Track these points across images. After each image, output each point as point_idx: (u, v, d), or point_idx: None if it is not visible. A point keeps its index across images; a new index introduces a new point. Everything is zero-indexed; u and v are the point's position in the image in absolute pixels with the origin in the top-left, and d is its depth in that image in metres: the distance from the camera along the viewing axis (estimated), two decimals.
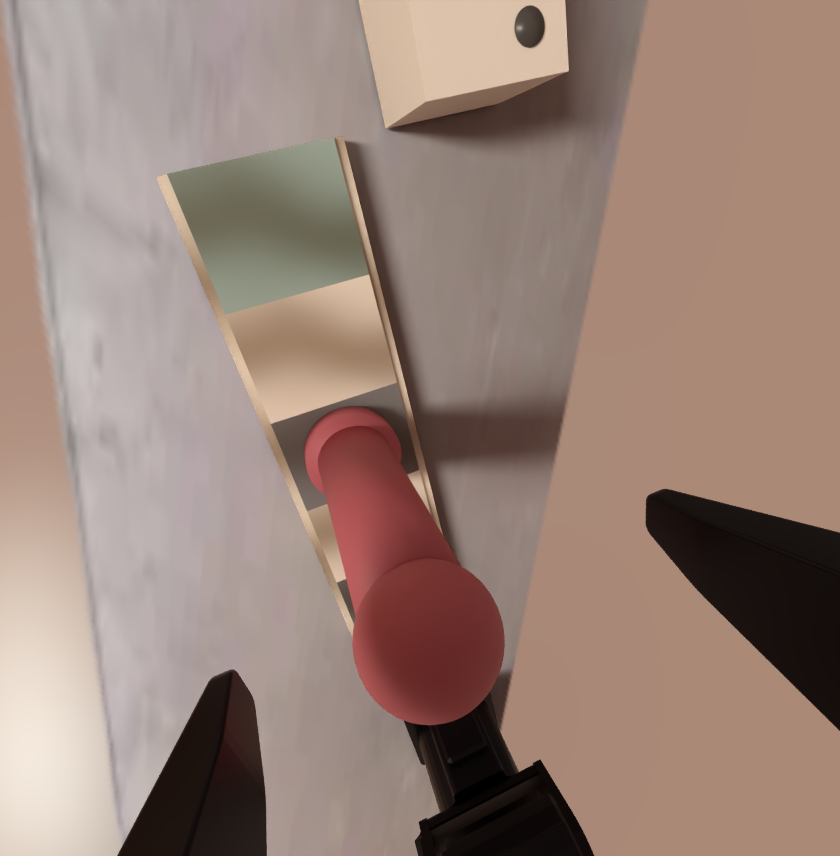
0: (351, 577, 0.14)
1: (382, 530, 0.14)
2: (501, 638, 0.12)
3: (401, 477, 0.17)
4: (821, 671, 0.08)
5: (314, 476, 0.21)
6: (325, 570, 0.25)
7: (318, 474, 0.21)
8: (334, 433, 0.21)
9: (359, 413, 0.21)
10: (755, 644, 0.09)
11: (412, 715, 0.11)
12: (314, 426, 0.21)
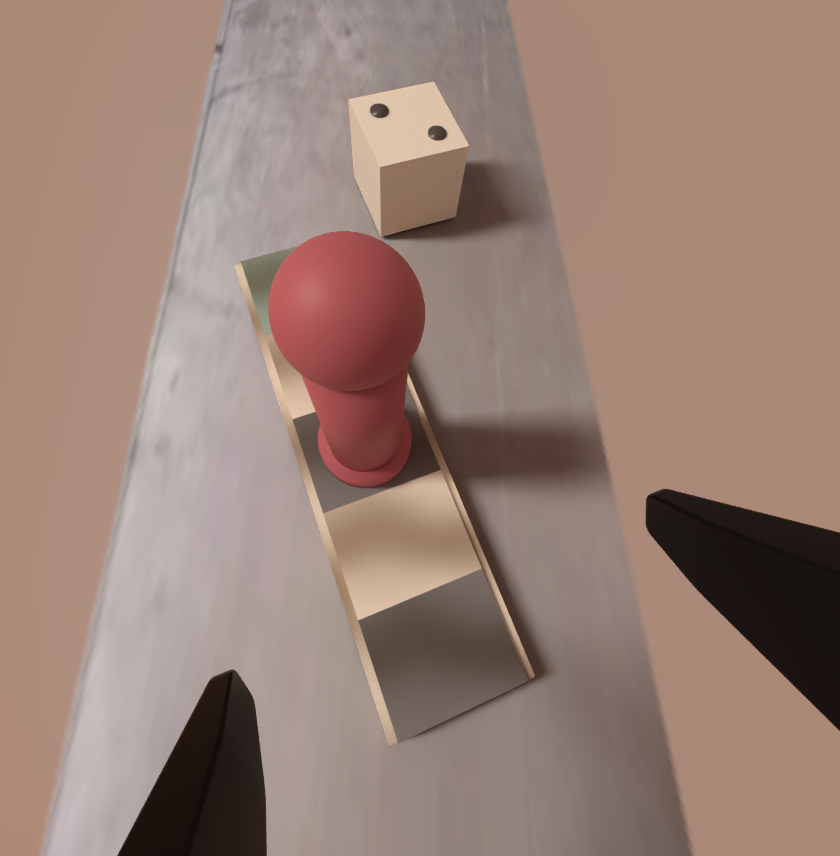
0: None
1: None
2: (406, 263, 0.11)
3: None
4: (821, 671, 0.08)
5: (325, 452, 0.22)
6: (344, 602, 0.21)
7: (329, 450, 0.22)
8: None
9: None
10: (755, 644, 0.09)
11: (300, 290, 0.10)
12: None
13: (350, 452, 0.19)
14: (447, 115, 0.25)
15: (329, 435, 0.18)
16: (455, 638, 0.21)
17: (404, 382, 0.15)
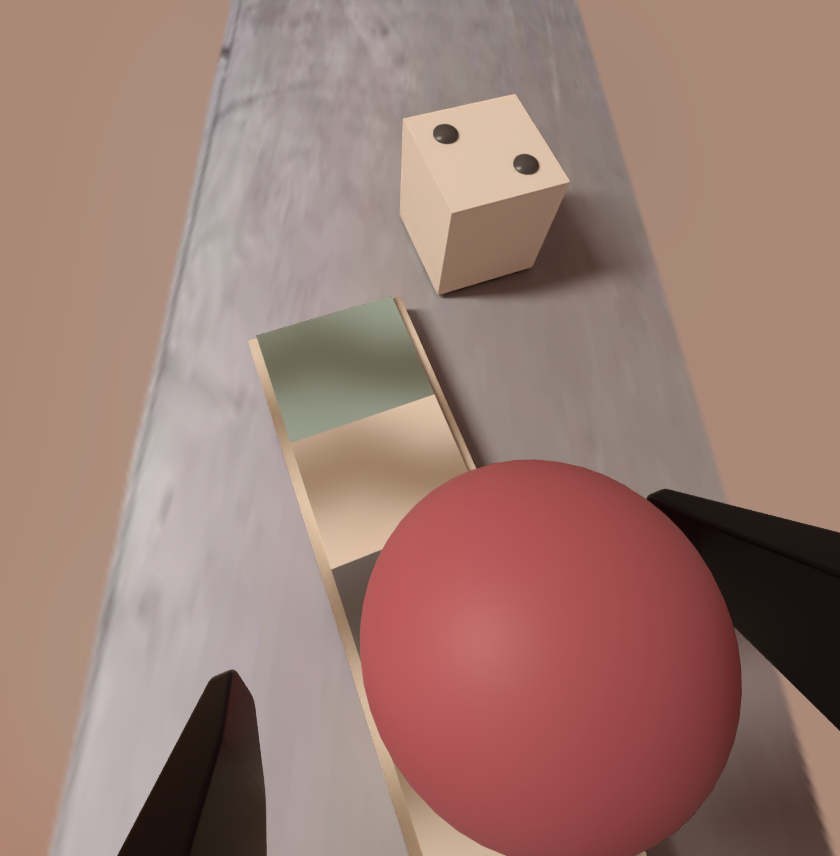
0: None
1: None
2: (698, 553, 0.05)
3: None
4: (821, 671, 0.08)
5: None
6: None
7: None
8: None
9: None
10: (755, 644, 0.09)
11: (487, 723, 0.04)
12: None
13: None
14: (537, 139, 0.19)
15: None
16: None
17: None
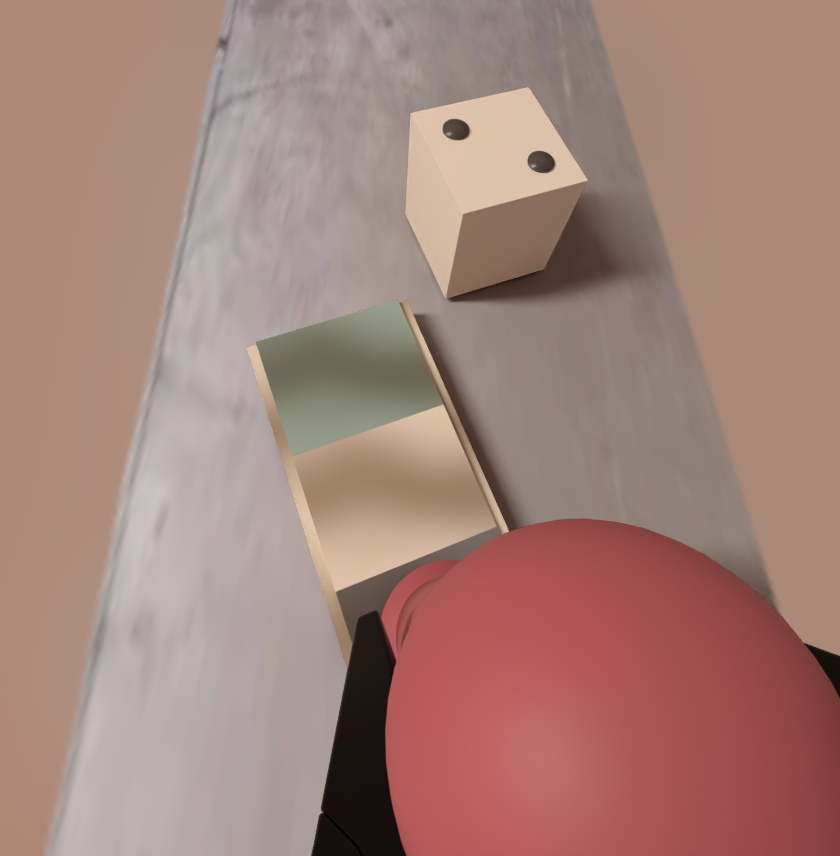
0: None
1: None
2: (808, 650, 0.04)
3: None
4: None
5: None
6: None
7: None
8: (416, 588, 0.15)
9: None
10: None
11: None
12: (392, 591, 0.15)
13: None
14: (552, 135, 0.18)
15: None
16: None
17: None
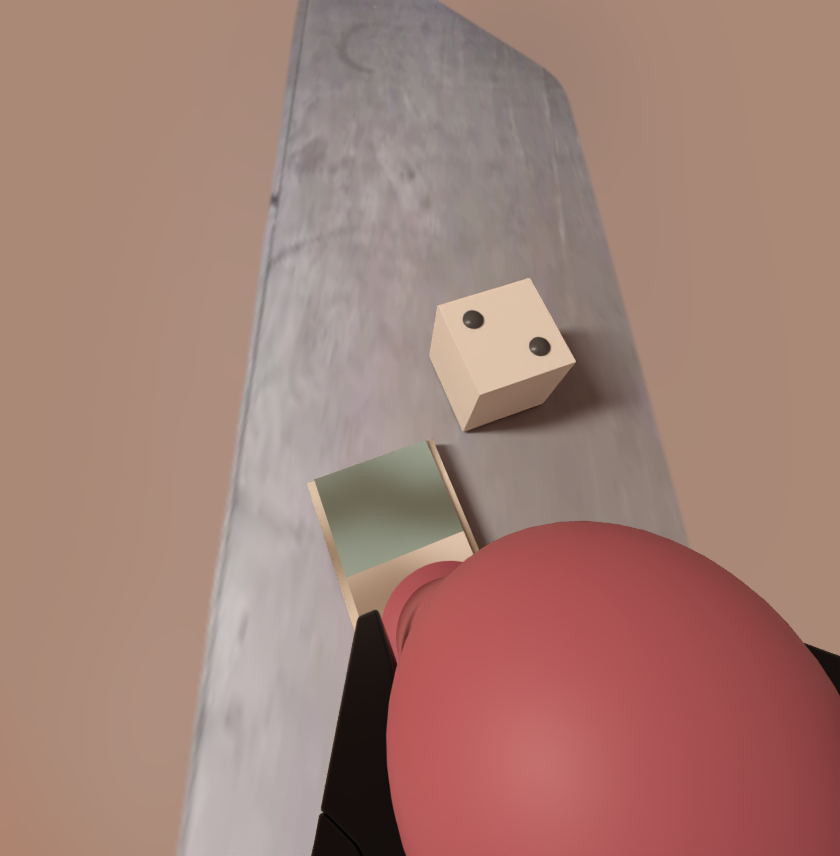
0: None
1: None
2: (811, 653, 0.04)
3: None
4: None
5: None
6: None
7: (398, 661, 0.14)
8: (417, 589, 0.15)
9: (449, 561, 0.15)
10: None
11: None
12: None
13: None
14: (548, 322, 0.23)
15: None
16: None
17: None
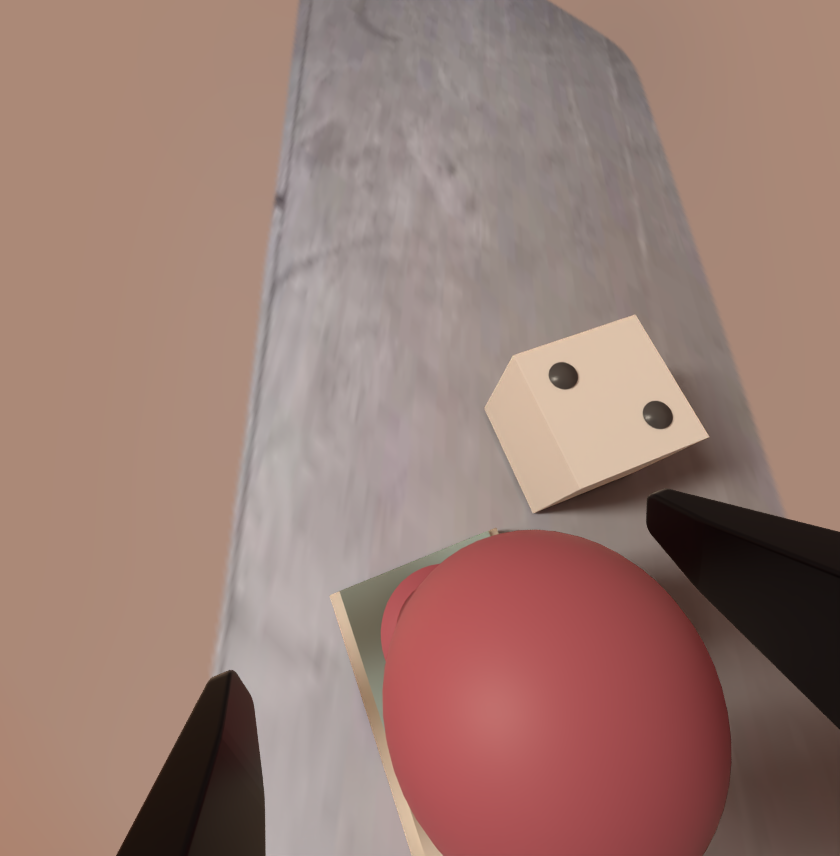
0: None
1: None
2: (692, 627, 0.05)
3: None
4: (822, 671, 0.08)
5: None
6: None
7: None
8: (414, 589, 0.16)
9: None
10: (756, 644, 0.09)
11: (505, 799, 0.04)
12: None
13: None
14: (666, 378, 0.16)
15: None
16: None
17: None
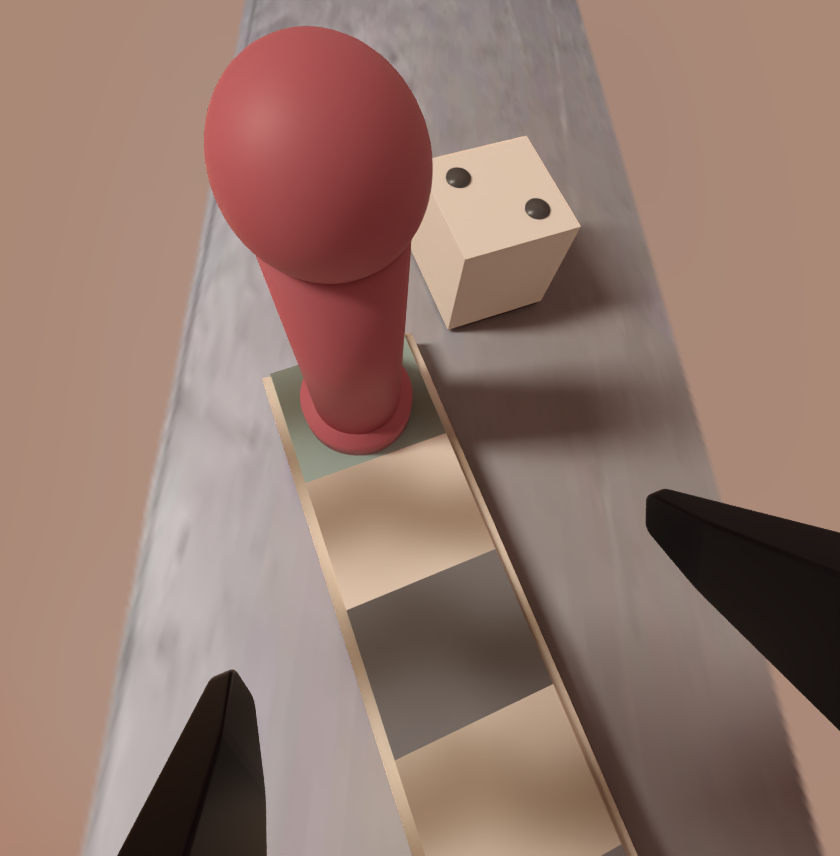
0: None
1: None
2: (405, 83, 0.08)
3: None
4: (821, 671, 0.08)
5: (308, 411, 0.18)
6: None
7: (313, 409, 0.18)
8: None
9: None
10: (755, 644, 0.09)
11: (243, 94, 0.07)
12: None
13: (336, 402, 0.15)
14: (548, 183, 0.19)
15: (309, 378, 0.14)
16: None
17: (403, 293, 0.11)
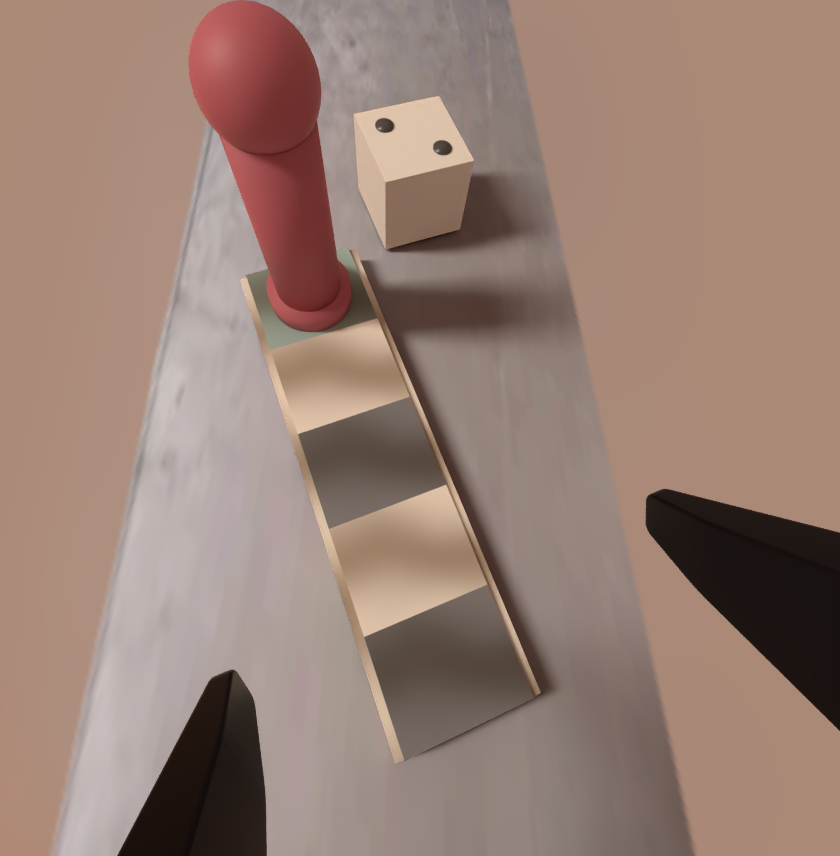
0: None
1: None
2: (299, 32, 0.14)
3: None
4: (821, 671, 0.08)
5: (272, 295, 0.24)
6: (350, 618, 0.21)
7: (276, 294, 0.24)
8: None
9: None
10: (755, 644, 0.09)
11: (207, 34, 0.13)
12: None
13: (286, 272, 0.21)
14: (452, 129, 0.25)
15: (265, 250, 0.21)
16: (461, 655, 0.21)
17: (317, 174, 0.18)
